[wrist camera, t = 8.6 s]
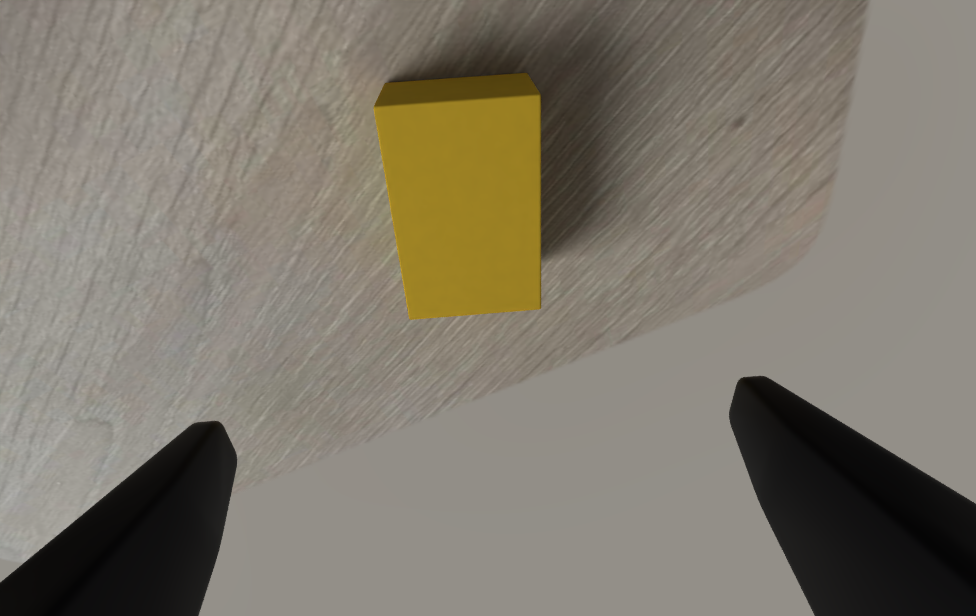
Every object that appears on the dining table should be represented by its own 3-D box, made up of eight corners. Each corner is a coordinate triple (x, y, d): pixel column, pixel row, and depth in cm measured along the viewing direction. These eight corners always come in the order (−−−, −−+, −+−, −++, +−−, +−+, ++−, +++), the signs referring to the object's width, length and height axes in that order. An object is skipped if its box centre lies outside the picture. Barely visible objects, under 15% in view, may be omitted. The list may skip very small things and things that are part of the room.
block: (384, 82, 17) (372, 106, 14) (527, 72, 17) (541, 93, 14) (414, 275, 21) (409, 320, 18) (530, 266, 21) (541, 310, 18)
